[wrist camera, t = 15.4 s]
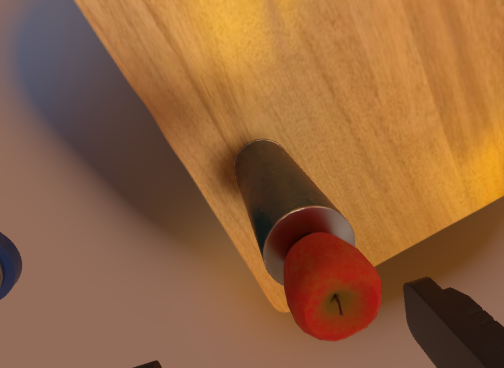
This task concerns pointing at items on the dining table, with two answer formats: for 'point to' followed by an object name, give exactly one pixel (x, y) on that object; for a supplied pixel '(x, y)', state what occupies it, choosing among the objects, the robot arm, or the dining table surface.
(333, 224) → the tin can
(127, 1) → the dining table surface
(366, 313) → the apple
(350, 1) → the dining table surface
